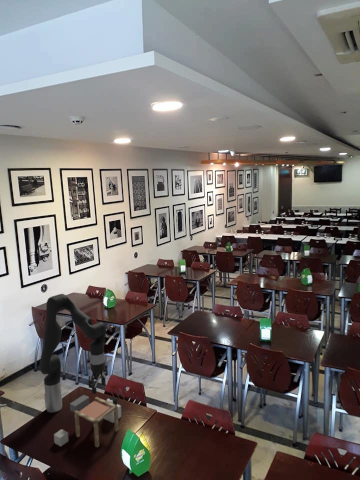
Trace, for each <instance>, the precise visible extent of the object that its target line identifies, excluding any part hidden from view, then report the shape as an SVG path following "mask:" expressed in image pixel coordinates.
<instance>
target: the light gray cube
mask: <svg viewBox="0 0 360 480" xmlns="http://www.w3.org/2000/svg"><path fill="white" fill-rule="evenodd" d="M53 440H54V444H55V445H57V446H59V447H62V446H63V445H66V443H68V442H69V432H68V431H66V430H65V429H59V430H58V431H57V432H55V433H54V434H53Z"/></svg>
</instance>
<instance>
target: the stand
mask: <svg viewBox="0 0 360 480" xmlns="http://www.w3.org/2000/svg"><path fill="white" fill-rule="evenodd" d="M94 401H97V402H99V403H102V404H104V405H106V406H107V405H108V406H110V407H112V408H111V409H109V410H108V411H106V412H105V413H104V414H102V415H101V416H100V417H98V418H97V419H94V418H92V417H90V416H88V415H86V414H84V413H81V412H79V411H77V410H76V411H75V412H74V423H75V425H74V426H75V436H76V437H77V438H79V437H81V429H80V428H81V426H80V417H81V418H82V419H83V418H84V419H85V420H87V421H89V422H91V423H93V433H94V434H93V435H94V447H95V448H99V447H100V434H99V422H101V421H102V420H103V419H104V417H105V416H107V415H108V414H110V413H111V412H112V411H114V432H118V431H120V429H119V419H118V406H117V405H114V404H112V403H110V402H107V400H105V399H102V398H100V397H98V396H96V397H95V398H94Z"/></svg>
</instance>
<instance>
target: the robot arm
mask: <svg viewBox="0 0 360 480" xmlns="http://www.w3.org/2000/svg"><path fill="white" fill-rule="evenodd" d="M45 307H46V310H45V311H46V313H45V314H46V320H45V329H44V335H43V346H42V352H41V356H40V358H39V359H40V360H39V370H40V373H42V374H43V375H45V377H44V379H43V384H44V385H43V387H44V406H45V409H46V411H47V413H57V412H60V410H62V409H63V397H62V384H61V383H62V382H61V377H62V365H61V364H62V363H61V359H60V356H58V355H57V354H54V352H55V350H56V349H57V348H58V346H59V345H60V343H61V339H62V334H63V333H62V332H63V329H62V327H61V326H60V324H59V322H58V321H57V314H58V313H59V312H62V311H64V310H66V311H67V312H70V316H71V317H70V318H71V320H72V322H73V323H74V324H75V325H76V326H77V327H78V328H79V329H81V330H82V332H83V334H84V335H85V336H86V338H87V339H89V340H93V341H91V342H90V344H89V353H90V354H89V362H90V363H89V364H90V366H89V367H90V371H91V372H92V375H91V376H88V388H89V389H91V393H92V394H93V395H96V394H97V392H98V391H97V385H98V384H99V381H100V383H101V386H106V384H107V383H106V382H107V381H106V379H107V376H108V375H109V370H108V365H106V354H105V346H104V345H105V341H106V336H107V326H106V324H105V323H104V322H101V321H99V322H96V323H94V324H93V319H92V318H91V316H89V315H87V314H86V313H84V312H83V311H82V310H80V308H79V307H78V306H77V305H76V304H75V303H74V302H73V301H72V300H71V298H70V297H69V296H68V295H66V294H64V293H58V294H56V295H52V296H50V297H48V298H47V301H46V306H45Z"/></svg>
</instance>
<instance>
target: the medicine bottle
mask: <svg viewBox="0 0 360 480" xmlns="http://www.w3.org/2000/svg"><path fill="white" fill-rule="evenodd" d="M106 401H107V402H110V403H112V404H114V405H117V406H118V420H119V419H120V418H121V417H122V405H120V404H118V398H117V397H115V396H110V397H108V398H107V399H106ZM106 406H108V405H106ZM108 407H110V406H108ZM111 408H112V407H111ZM103 419H104V420H106V421H108V422H110V423H112V424H113V423H114V411H112V412H111V413H110V414H108V415H107V416H105V417H104V418H103Z"/></svg>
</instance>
